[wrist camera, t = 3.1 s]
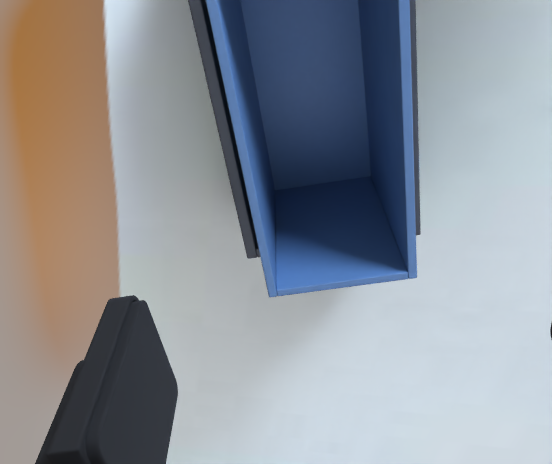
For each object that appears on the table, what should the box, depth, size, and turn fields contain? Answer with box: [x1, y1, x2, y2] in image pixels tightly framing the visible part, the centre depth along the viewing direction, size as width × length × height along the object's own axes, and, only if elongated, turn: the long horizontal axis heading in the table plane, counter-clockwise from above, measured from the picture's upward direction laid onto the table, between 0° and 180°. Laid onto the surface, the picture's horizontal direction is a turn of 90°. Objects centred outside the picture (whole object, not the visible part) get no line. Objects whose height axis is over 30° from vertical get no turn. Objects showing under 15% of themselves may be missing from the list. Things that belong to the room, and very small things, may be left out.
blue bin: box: [206, 0, 417, 297], centre depth 25 cm, size 7×15×11 cm, turn 9°
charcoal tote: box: [188, 0, 420, 258], centre depth 28 cm, size 10×18×6 cm, turn 9°
